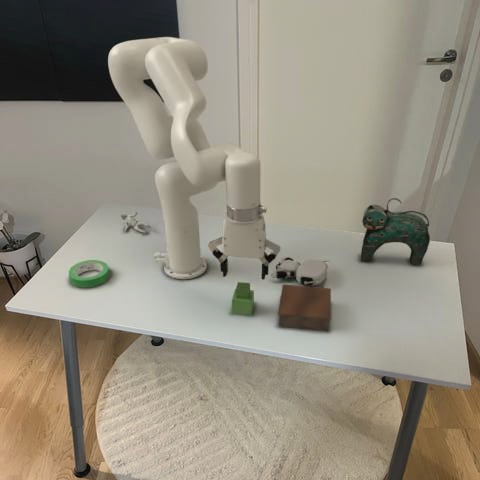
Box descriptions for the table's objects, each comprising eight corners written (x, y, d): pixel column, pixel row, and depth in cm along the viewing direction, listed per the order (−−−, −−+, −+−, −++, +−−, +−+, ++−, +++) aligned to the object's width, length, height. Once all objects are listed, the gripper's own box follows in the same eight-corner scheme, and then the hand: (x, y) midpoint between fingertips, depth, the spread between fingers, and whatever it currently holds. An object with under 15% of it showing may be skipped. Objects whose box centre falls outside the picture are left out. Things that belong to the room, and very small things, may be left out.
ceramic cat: (355, 262, 139) (366, 200, 127) (355, 252, 144) (365, 190, 132) (423, 268, 137) (442, 205, 124) (420, 257, 142) (438, 195, 129)
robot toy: (268, 285, 131) (320, 294, 126) (268, 272, 129) (320, 280, 123) (282, 264, 140) (331, 272, 135) (282, 251, 137) (332, 258, 132)
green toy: (232, 313, 120) (231, 290, 115) (235, 302, 124) (235, 279, 119) (251, 315, 119) (251, 292, 115) (253, 303, 123) (254, 281, 119)
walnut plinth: (277, 327, 115) (278, 312, 113) (281, 298, 125) (282, 284, 122) (328, 332, 114) (330, 317, 111) (328, 302, 124) (330, 288, 121)
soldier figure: (138, 240, 153) (111, 222, 155) (144, 243, 157) (117, 226, 160) (151, 220, 152) (123, 202, 155) (156, 224, 157) (129, 206, 159)
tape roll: (109, 265, 139) (107, 257, 137) (110, 285, 130) (108, 277, 129) (71, 269, 137) (69, 262, 135) (69, 290, 128) (67, 282, 127)
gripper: (283, 205, 106) (280, 269, 116) (209, 202, 108) (213, 265, 119) (280, 220, 100) (277, 286, 111) (202, 215, 103) (207, 281, 113)
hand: (244, 275), depth 115 cm, fingers open, 9 cm apart
